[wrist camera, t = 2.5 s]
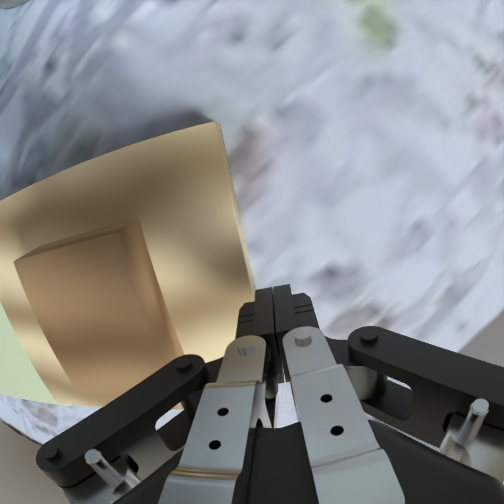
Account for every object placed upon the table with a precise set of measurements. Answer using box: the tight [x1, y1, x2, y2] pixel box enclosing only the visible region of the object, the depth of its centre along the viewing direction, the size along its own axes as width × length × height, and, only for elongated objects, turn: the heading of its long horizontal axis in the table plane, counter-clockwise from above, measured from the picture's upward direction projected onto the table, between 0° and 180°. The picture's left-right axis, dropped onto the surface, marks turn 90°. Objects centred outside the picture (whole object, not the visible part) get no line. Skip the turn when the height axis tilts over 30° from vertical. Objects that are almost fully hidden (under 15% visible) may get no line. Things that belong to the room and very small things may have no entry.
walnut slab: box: [13, 219, 185, 399], centre depth 14 cm, size 9×7×2 cm
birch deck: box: [0, 121, 256, 409], centre depth 17 cm, size 16×18×2 cm
